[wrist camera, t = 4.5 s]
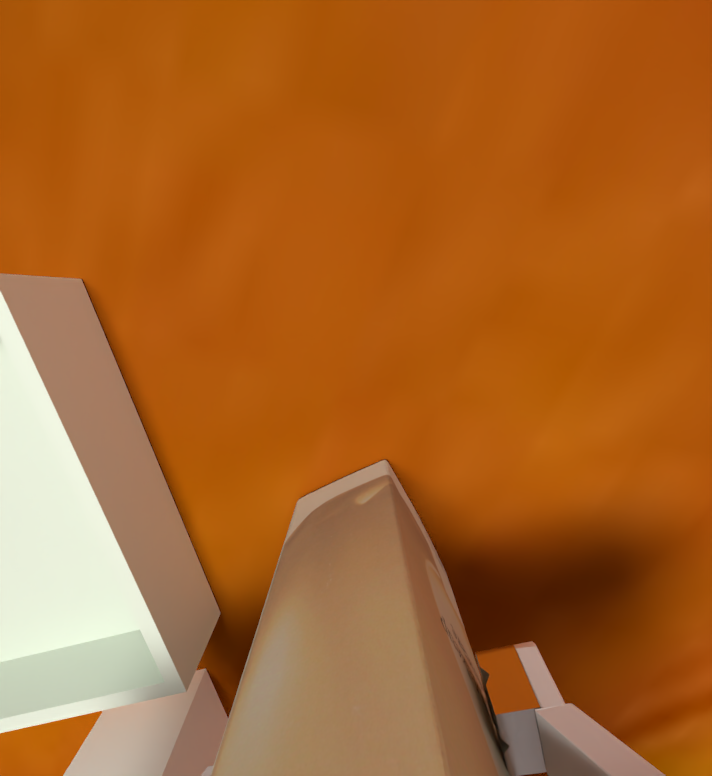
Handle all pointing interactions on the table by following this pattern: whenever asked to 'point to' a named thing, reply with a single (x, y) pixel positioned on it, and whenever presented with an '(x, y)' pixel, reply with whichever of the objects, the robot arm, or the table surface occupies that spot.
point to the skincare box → (360, 651)
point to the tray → (84, 524)
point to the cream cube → (156, 735)
